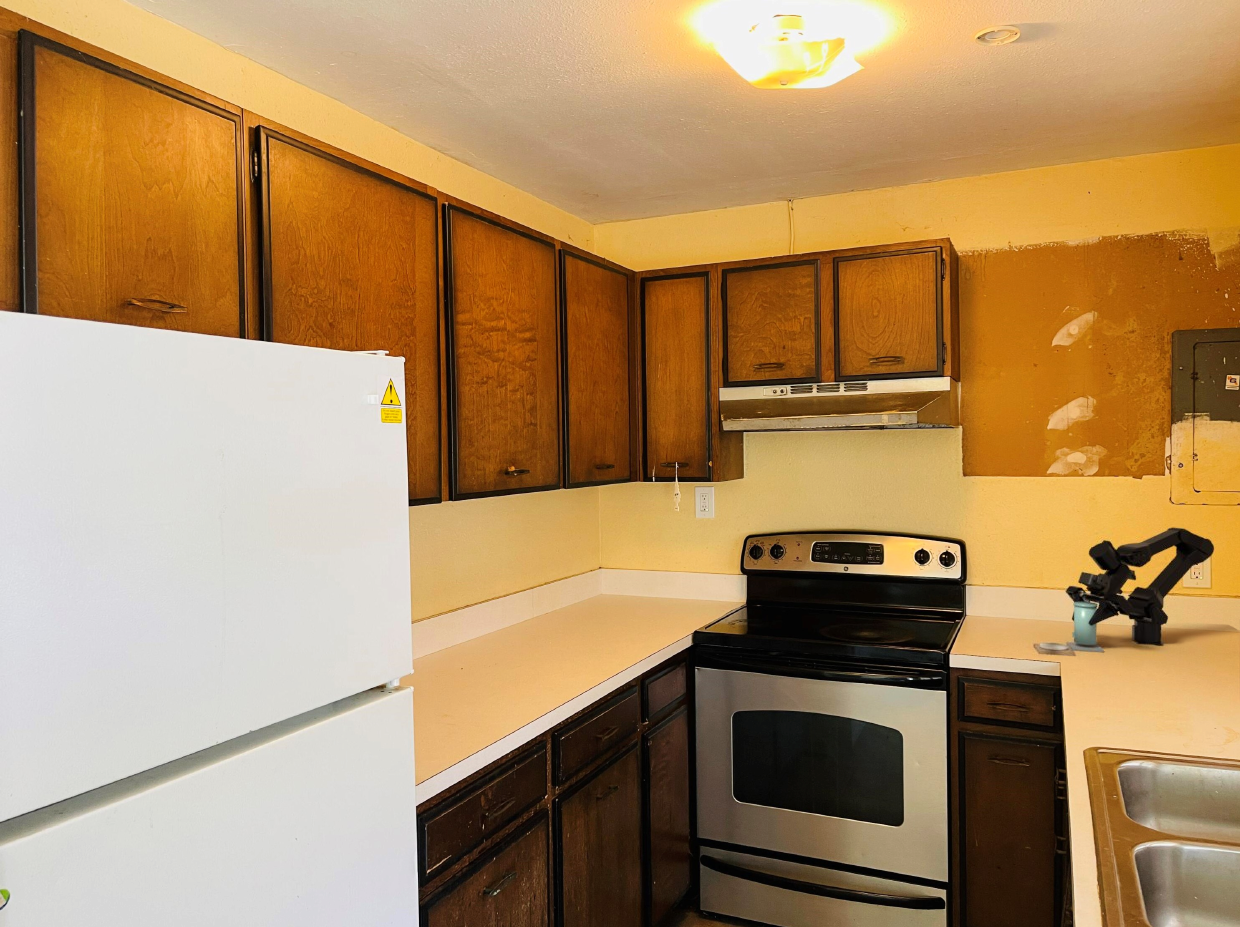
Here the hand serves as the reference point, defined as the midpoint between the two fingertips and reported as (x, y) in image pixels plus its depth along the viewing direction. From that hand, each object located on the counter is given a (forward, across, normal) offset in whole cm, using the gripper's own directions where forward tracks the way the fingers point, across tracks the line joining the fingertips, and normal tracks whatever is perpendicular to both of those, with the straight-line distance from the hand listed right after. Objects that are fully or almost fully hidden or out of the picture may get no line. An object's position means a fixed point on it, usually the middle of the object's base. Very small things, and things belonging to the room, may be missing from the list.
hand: (1081, 622), depth 251 cm
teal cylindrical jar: (+3, 0, +5) cm, 6 cm away
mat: (+4, 0, +6) cm, 7 cm away
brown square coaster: (+12, 0, -2) cm, 12 cm away
